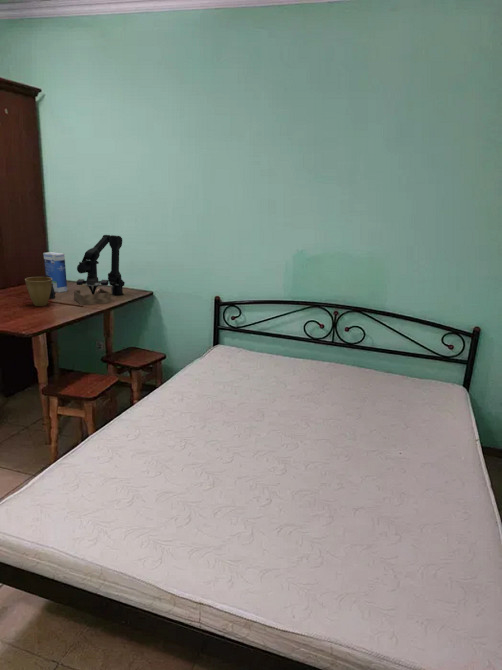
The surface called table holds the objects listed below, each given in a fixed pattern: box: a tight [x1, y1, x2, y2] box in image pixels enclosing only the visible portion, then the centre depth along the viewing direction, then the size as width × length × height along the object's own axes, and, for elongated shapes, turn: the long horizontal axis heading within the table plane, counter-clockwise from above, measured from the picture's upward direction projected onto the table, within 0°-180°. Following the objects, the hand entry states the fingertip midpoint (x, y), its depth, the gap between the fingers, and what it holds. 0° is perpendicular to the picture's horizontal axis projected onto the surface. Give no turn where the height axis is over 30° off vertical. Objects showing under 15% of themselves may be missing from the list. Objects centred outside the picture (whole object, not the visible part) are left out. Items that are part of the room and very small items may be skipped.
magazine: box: [43, 274, 57, 300], centre depth 300 cm, size 4×13×15 cm, turn 92°
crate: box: [73, 287, 111, 306], centre depth 298 cm, size 18×16×6 cm
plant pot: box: [24, 276, 52, 307], centre depth 282 cm, size 15×15×16 cm
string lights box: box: [42, 251, 68, 293], centre depth 319 cm, size 13×8×26 cm, turn 58°
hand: (93, 295), depth 298 cm, fingers closed
